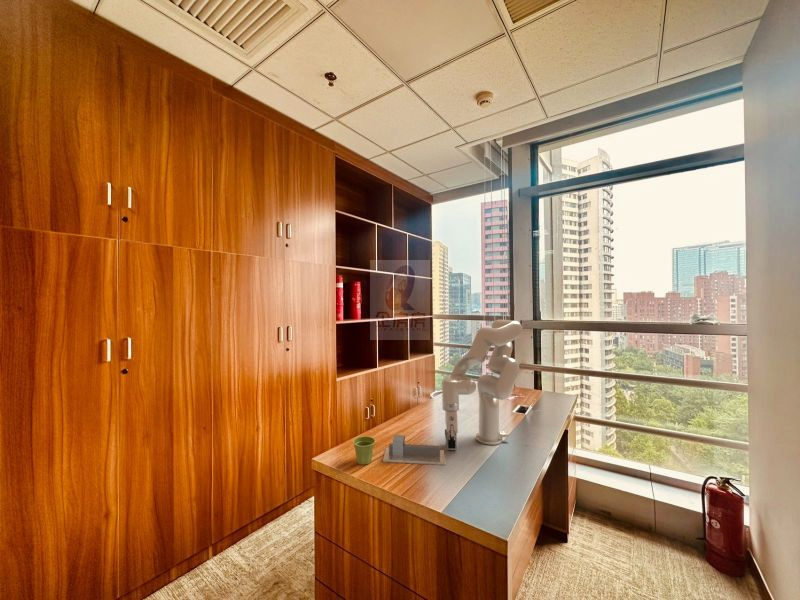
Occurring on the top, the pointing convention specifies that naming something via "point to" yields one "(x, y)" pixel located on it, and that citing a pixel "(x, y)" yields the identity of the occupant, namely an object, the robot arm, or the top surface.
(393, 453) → the rail
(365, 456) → the plant pot
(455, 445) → the grey block
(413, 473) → the top surface
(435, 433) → the top surface
